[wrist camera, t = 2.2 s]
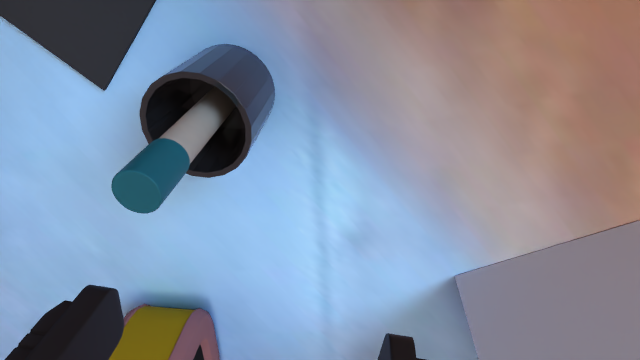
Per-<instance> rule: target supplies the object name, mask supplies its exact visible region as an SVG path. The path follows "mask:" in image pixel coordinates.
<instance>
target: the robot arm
mask: <svg viewBox="0 0 640 360" xmlns="http://www.w3.org/2000/svg"><path fill="white" fill-rule="evenodd" d="M123 330H124V319H123V314H122V309H121V304H120V299H119V293H118V291H117V290H116V289H114V288H108V287H101V286H95V285H88V286H86V287H85V288H84V289H83V290H82V291H81V292H80V293H79V295H78V296H77V297H76V298H75V299H74V301H73V302H71V301H63V302H62V303H60V304H59V305H57V306H56V307H54V308H53V309H51V310H50V311H48V312H47V313H45V314H44V316H43V317H42V318H41V319H40V320H39V321H38V322H37V324H36V325H35V326H34V327H33V328H32V329H31V332H30V333H29V334H27V335H26V336H25V337H24V338H23V339H22V341H21V342H20V343H19V345H18V347H17V348H15V349H14V350H13V351H12V352H11V353H10V354H9V355H8V356H7V358H6V359H5V360H109V358H110V357H111V355H112V353H113V352H114V350H115V348H116V347H117V345H118V344H119V342H120V339H121V337H122V334H123ZM378 360H425V359H419V358H416V352H415V345H414V340H413V338H412V337H408V336H401V335H395V334H389V333H387V334H386V335H385V338H384V341H383V344H382V347H381V350H380V354H379V357H378Z"/></svg>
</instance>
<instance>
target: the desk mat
mask: <svg viewBox="0 0 640 360" xmlns="http://www.w3.org/2000/svg"><path fill="white" fill-rule="evenodd" d="M155 1H156V0H0V16H2V17H3V18H4V19H6V20H7V21H9V22H10V23H11V24H13V25H14V26H16V27H17V28H18V29H20V30H21V31H22V32H24V33H25V34H27V35H28V36H29V37H31V38H32V39H33V40H35V41H36V42H38V43H39V44H40V45H42V46H43V47H45V48H46V49H47V50H49V51H50V52H51V53H53V54H54V55H56V56H57V57H58V58H60V59H61V60H62V61H64V62H65V63H67V64H68V65H69V66H71V67H72V68H74V69H75V70H76V71H78V72H79V73H80V74H82V75H83V76H85V77H86V78H87V79H89V80H90V81H92V82H93V83H94V84H96V85H97V86H98V87H100V88H101V89H103V90H106V88H107V87H108V85H109V83H110V81H111V80H112V78H113V76H114V74H115V72H116V71H117V69H118V67H119V65H120V64H121V62H122V60H123V58H124V56H125V55H126V53H127V51H128V49H129V48H130V46H131V44H132V42H133V40H134V39H135V37H136V35H137V33H138V32H139V30H140V28H141V26H142V24H143V23H144V21H145V19H146V17H147V16H148V14H149V12H150V10H151V8H152V7H153V5H154V3H155Z"/></svg>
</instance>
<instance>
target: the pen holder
mask: <svg viewBox="0 0 640 360" xmlns="http://www.w3.org/2000/svg"><path fill="white" fill-rule="evenodd" d="M214 86H216V87H217V88H218V89H220V90H221V91H222V92H223V93H225V94H226V95H227V96H228V97H230V98H231V100H232V101H233V103H234V104H235V105H236V107H235V108H234V109H233V111H232V112H231V113H230V114H229V116H228V117H227V118H226V119H225V121H224V122H223V123H222V124H221V126H220V127H219V128H218V129H217V131H216V132H215V133H214V134H213V136H212V137H211V138H210V139H209V141H208V142H207V143H206V145H205V146H204V147H203V148H202V150H201V151H200V152H199V153H198V155H197V156H196V157H195V158H194V160H193V161H192V162H191V163H190V166H189V169H188V171H187V172H186V174H189V175H191V176H198V177H207V178H209V177H215V176H221V175H225V174H227V173H228V172H230V171H232V170H234V169H236V168H237V167H238V166H239V165H240V164H241V163H242V161H243V160H244V159H245V158H246V157H247V155H248V153H249V151H250V149H251V148H252V146H253V144H254V142H255V140H256V138H257V137H258V135H259V133H260V131H261V129H262V128H263V126H264V124H265V122H266V120H267V118H268V117H269V115H270V112H271V110H272V107H273V104H274V99H275V89H274V83H273V80H272V77H271V75H270V73H269V71H268V69H267V68H266V66H265V65H264V64H263V62H262V61H261V60H260V59H259V58H258V57H257V56H255V55H254V54H253V53H251V52H250V51H248V50H246V49H244V48H242V47H239V46H235V45H230V44H220V45H215V46H211V47H209V48H206V49H204V50H203V51H201V52H200V53H198V54H197V55H195V56H193V57H192V58H190V59H189V60H187V61H186V62H184V63H182V64H181V65H179V66H178V67H176V68H175V69H173V70H171V71H170V72H168V73H167V74H165V75H164V76H162V77H161V78H159V79H158V80H156V81H155V82H154V83H152V84H151V85H150V86H149V88H148V90H147V91H146V93H145V94H144V96H143V98H142V103H141V108H140V120H141V126H142V130H143V133H144V135H145V137H146V139H147V141H148V143H149V144H150V143H151V142H152V141H154V140H156V139H159V138H160V137H161V136H162V135H163V134H164V133H165V132H166V131H167V130H168V129H169V128H170V127H172V126H173V125H174V124H175V123H176V122H177V121H178V120H179V119H180V118H181V117H182V116H183V115H184V114H185V113H187V112H188V111H189V110H190V109H191V108H192V107H193V106H194V105H195V104H196V103H197V102H198V101H199V100H200V99H201V98H203V97H204V96H205V95H206V94H207V93H208V92H209V91H210V90H211V89H212V88H213V87H214Z"/></svg>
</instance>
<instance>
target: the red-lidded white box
mask: <svg viewBox="0 0 640 360" xmlns="http://www.w3.org/2000/svg"><path fill="white" fill-rule="evenodd" d="M455 279H456V283H457V286H458V290H459V293H460V297H461V300H462V304H463V307H464V310H465V314H466V317H467V321H468V324H469V328H470V331H471V335H472V338H473V342H474V345H475V349H476V352H477V355H478V359H479V360H640V220H639V221H636V222H633V223H629V224H626V225H623V226H619V227H616V228H613V229H609V230H606V231H603V232H599V233H596V234H593V235H589V236H586V237H583V238H579V239H576V240H573V241H569V242H566V243H563V244H559V245H556V246H553V247H549V248H546V249H543V250H539V251H536V252H533V253H529V254H526V255H523V256H519V257H516V258H513V259H509V260H506V261H503V262H499V263H496V264H493V265H489V266H486V267H483V268H479V269H476V270H473V271H469V272H466V273H463V274H459V275H456V276H455Z"/></svg>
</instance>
